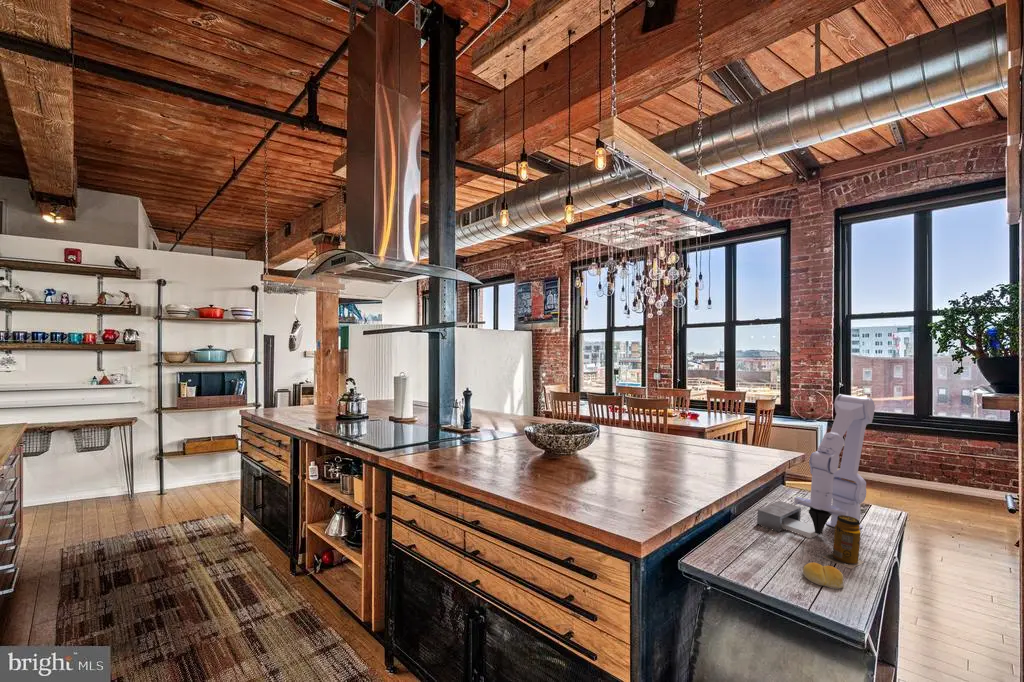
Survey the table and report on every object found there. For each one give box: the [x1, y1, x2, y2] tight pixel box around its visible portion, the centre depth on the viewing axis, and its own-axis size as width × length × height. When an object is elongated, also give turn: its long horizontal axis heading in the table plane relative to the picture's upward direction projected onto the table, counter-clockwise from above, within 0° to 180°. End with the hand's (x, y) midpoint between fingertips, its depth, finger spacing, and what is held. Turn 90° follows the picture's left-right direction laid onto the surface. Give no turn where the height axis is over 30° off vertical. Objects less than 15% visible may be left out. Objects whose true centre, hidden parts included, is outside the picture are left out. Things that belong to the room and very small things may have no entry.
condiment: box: [822, 515, 865, 570], centre depth 136 cm, size 7×8×12 cm
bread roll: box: [802, 561, 845, 590], centre depth 124 cm, size 8×9×4 cm
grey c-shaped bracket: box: [756, 500, 802, 533], centre depth 161 cm, size 16×7×5 cm, turn 128°
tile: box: [781, 517, 819, 539], centre depth 158 cm, size 8×13×2 cm, turn 38°
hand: (818, 533), depth 152 cm, fingers closed
